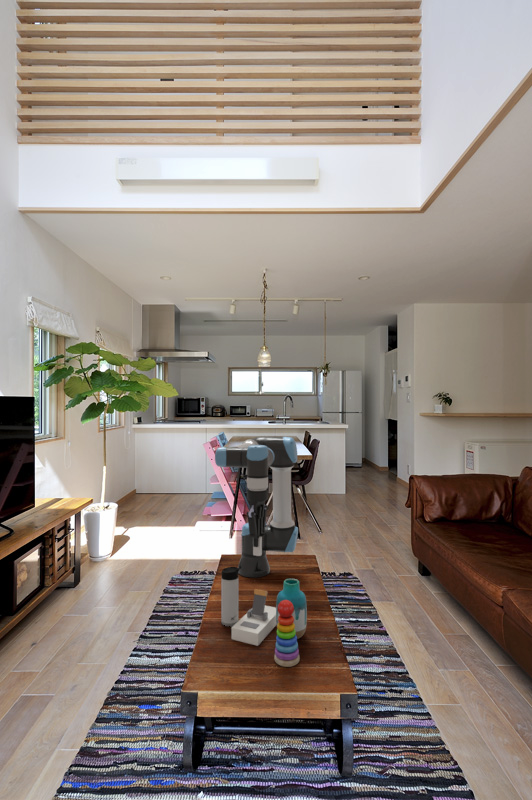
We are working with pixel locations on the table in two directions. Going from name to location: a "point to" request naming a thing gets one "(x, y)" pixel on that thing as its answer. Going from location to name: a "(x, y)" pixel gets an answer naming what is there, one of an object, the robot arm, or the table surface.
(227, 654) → the table surface
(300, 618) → the vase
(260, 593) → the lever
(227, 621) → the travel mug
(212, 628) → the table surface
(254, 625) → the switch box
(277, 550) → the robot arm
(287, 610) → the stacking toy
